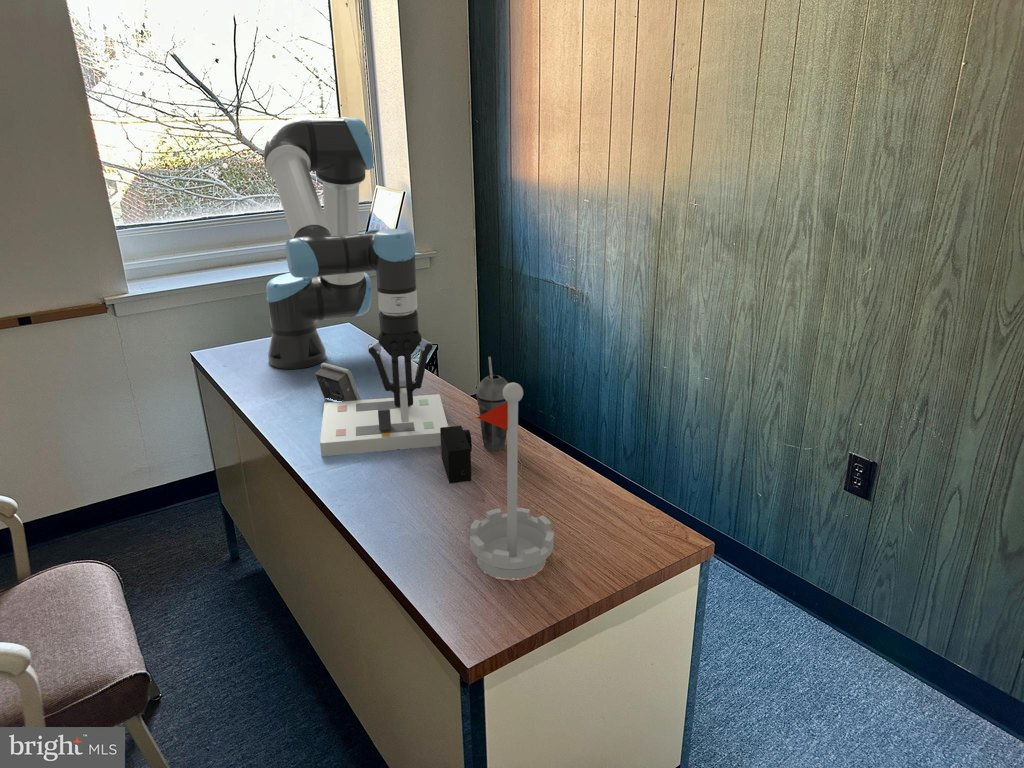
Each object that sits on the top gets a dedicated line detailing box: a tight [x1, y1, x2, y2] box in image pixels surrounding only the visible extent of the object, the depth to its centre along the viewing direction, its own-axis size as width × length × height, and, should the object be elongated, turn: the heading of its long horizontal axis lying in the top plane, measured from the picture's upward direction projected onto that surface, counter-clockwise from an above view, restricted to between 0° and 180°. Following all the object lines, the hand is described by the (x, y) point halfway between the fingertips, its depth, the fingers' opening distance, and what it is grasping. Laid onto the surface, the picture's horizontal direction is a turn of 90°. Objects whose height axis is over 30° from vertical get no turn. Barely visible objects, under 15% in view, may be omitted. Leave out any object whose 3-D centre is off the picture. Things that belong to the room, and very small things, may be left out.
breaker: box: [399, 380, 406, 389], centre depth 155 cm, size 3×2×4 cm
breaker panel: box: [319, 393, 449, 457], centre depth 151 cm, size 20×26×3 cm
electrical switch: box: [314, 362, 362, 402], centre depth 163 cm, size 9×5×9 cm, turn 57°
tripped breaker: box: [378, 404, 391, 430], centre depth 144 cm, size 3×2×4 cm
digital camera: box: [440, 425, 473, 484], centre depth 134 cm, size 10×5×7 cm, turn 14°
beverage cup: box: [475, 356, 509, 452], centre depth 141 cm, size 7×7×20 cm
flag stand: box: [469, 382, 555, 579], centre depth 104 cm, size 13×13×30 cm
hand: (404, 419), depth 145 cm, fingers closed
